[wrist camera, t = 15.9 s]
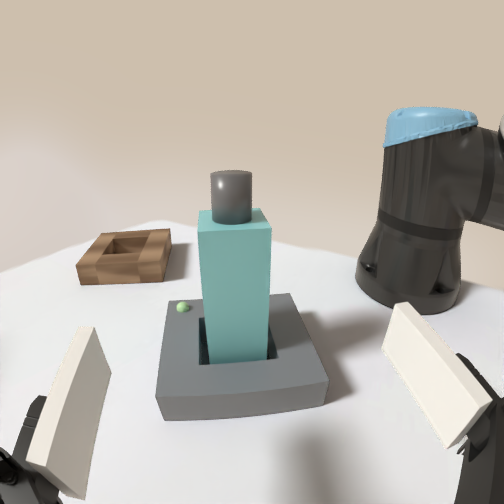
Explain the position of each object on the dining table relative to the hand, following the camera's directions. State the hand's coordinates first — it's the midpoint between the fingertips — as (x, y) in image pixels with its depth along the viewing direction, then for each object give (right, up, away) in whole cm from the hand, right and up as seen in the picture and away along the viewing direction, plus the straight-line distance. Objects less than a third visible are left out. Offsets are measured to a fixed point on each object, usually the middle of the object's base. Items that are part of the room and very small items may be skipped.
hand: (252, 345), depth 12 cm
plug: (-1, -6, +13) cm, 14 cm away
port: (-1, -6, +13) cm, 14 cm away
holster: (-18, +2, +30) cm, 36 cm away
